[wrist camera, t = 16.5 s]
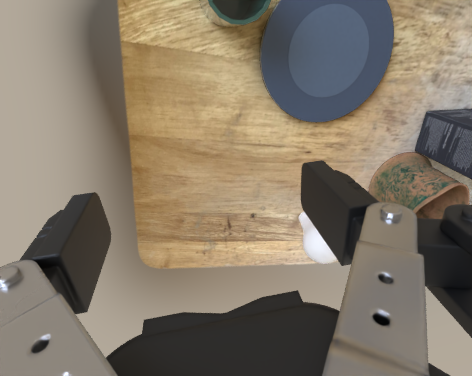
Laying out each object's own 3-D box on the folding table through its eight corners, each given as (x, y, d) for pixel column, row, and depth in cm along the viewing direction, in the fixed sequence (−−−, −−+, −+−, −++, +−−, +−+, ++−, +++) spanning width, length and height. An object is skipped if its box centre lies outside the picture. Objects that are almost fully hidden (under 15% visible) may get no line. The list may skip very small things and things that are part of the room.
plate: (236, 88, 39) (237, 90, 38) (304, -65, 33) (308, -68, 32) (339, 138, 45) (343, 141, 44) (414, 17, 39) (421, 16, 38)
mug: (390, 241, 58) (436, 287, 47) (359, 178, 49) (407, 217, 39) (444, 209, 56) (504, 250, 46) (421, 138, 48) (489, 168, 37)
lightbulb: (282, 208, 50) (306, 250, 40) (315, 193, 49) (348, 231, 40) (293, 234, 53) (318, 278, 43) (324, 219, 52) (356, 261, 43)
